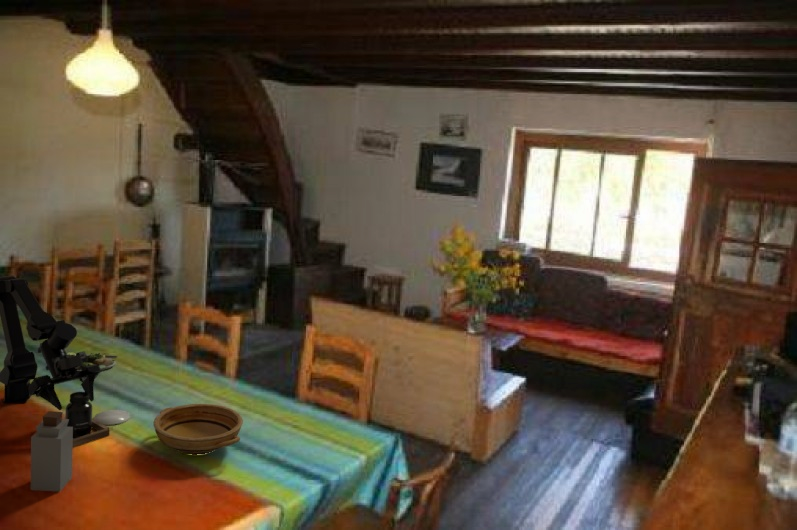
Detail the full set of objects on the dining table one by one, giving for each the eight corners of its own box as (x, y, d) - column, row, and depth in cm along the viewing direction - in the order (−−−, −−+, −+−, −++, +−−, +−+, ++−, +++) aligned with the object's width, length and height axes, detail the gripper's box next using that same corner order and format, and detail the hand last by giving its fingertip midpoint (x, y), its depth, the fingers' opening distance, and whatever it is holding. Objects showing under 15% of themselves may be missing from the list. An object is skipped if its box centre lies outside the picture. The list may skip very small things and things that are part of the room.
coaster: (90, 425, 190) (90, 423, 190) (97, 411, 199) (97, 409, 199) (127, 425, 192) (127, 423, 192) (132, 411, 202) (132, 410, 202)
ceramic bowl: (127, 443, 182) (128, 416, 180) (197, 418, 202) (198, 394, 201) (198, 480, 166) (200, 451, 165) (265, 449, 186) (267, 423, 185)
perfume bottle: (43, 475, 161) (44, 407, 158) (71, 477, 161) (73, 409, 158) (30, 490, 154) (31, 419, 151) (60, 491, 155) (61, 421, 152)
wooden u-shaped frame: (46, 435, 181) (47, 429, 181) (89, 422, 191) (89, 416, 191) (69, 448, 175) (69, 442, 175) (111, 434, 185) (111, 428, 185)
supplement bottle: (80, 441, 180) (81, 401, 178) (59, 437, 181) (59, 396, 179) (96, 431, 186) (97, 392, 184) (76, 427, 188) (76, 388, 185)
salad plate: (109, 354, 250) (109, 342, 249) (127, 368, 237) (127, 356, 237) (54, 361, 236) (55, 349, 236) (71, 377, 224) (71, 364, 223)
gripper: (33, 350, 175) (55, 400, 171) (98, 337, 190) (119, 383, 186) (18, 370, 180) (39, 419, 176) (82, 356, 196) (103, 401, 192)
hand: (77, 405), depth 183 cm, fingers open, 9 cm apart
